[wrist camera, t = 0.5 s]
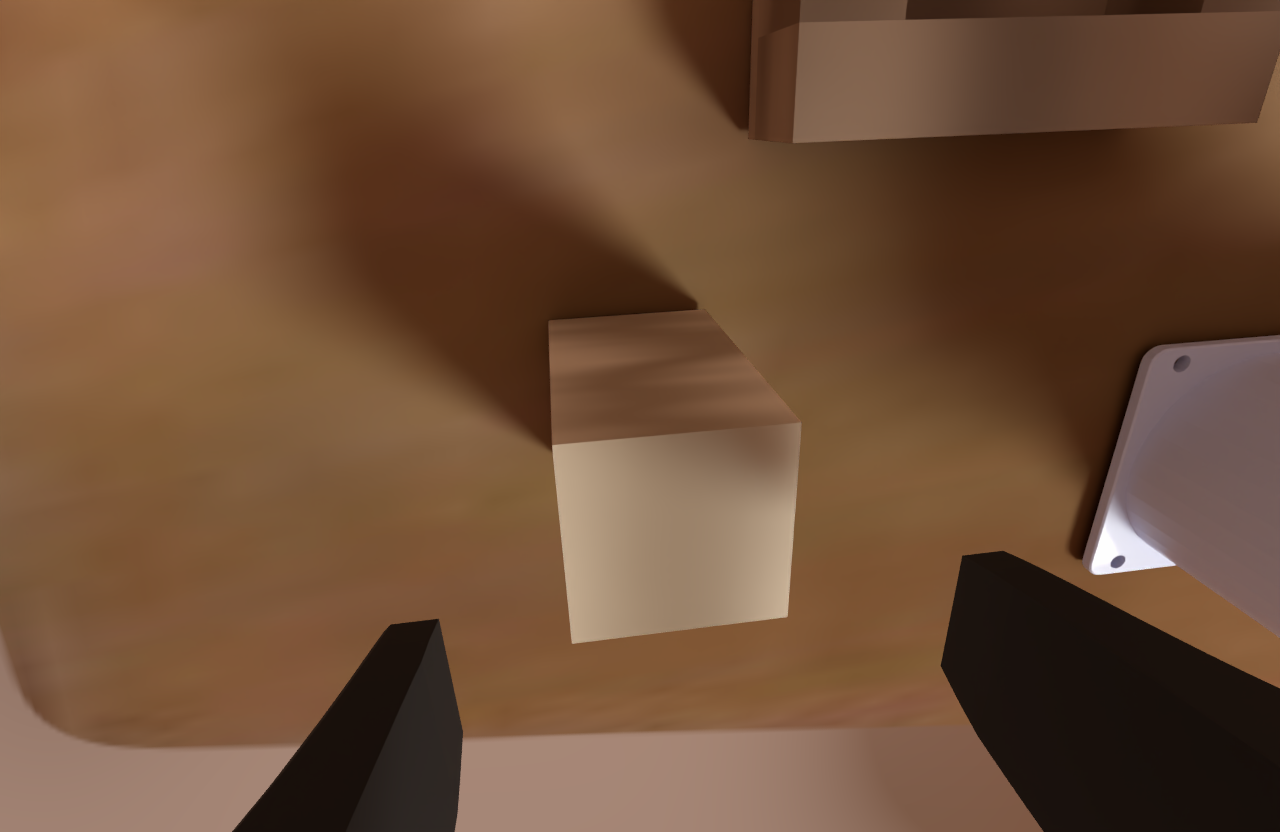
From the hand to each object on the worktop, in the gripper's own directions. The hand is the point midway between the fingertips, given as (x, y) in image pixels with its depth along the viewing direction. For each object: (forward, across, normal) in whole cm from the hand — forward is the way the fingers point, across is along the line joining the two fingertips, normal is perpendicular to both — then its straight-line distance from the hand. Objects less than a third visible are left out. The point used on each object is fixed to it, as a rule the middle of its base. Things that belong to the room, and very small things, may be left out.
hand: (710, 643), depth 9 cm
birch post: (+9, 0, 0) cm, 9 cm away
